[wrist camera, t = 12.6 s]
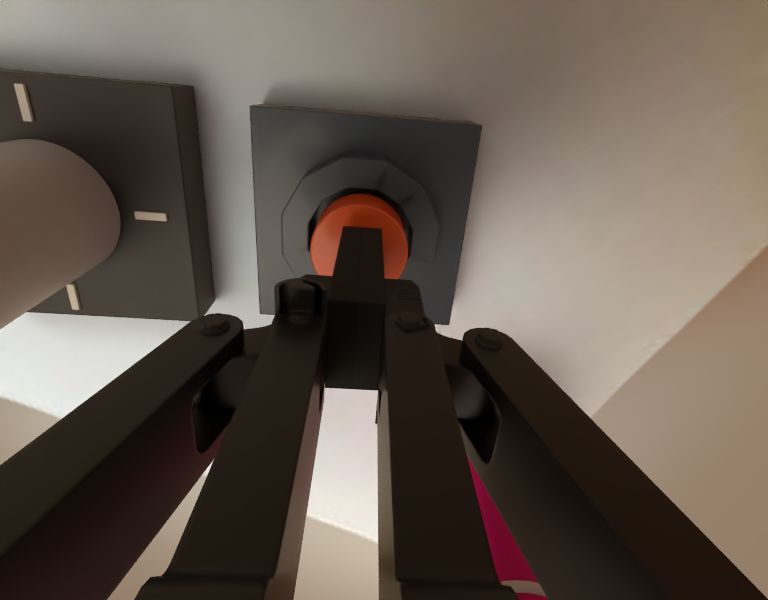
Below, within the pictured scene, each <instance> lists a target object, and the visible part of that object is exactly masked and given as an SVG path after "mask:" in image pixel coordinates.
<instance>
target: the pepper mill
mask: <svg viewBox="0 0 768 600" xmlns="http://www.w3.org/2000/svg"><path fill="white" fill-rule="evenodd" d="M467 458H468V456H467ZM468 462H469V466H470V470H471V474H472V478H473V482H474V486H475V490H476V494H477V498H478V502H479V506H480V510H481V514H482V518H483V522H484V526H485V530H486V534H487V538H488V542H489V546H490V550H491V554H492V558H493V562H494V566H495V570H496V573H497V576H498V579H499V581H500V582H501V584H502V585H506V586H511V587H512V588H513V590H514V591H515V593H516V594H517V596H518V598H519V600H548V599H547V597H546V595H545V593H544V592H543V590H542V588H541V586H540V585H539V583H538V581H537V579H536V577H535V576H534V574H533V572H532V570H531V568H530V567H529V565H528V563H527V561H526V560H525V558H524V556H523V554H522V552H521V551H520V549H519V547H518V545H517V544H516V542H515V540H514V538H513V536H512V535H511V533H510V531H509V529H508V528H507V526H506V524H505V522H504V520H503V519H502V517H501V515H500V513H499V512H498V510H497V508H496V506H495V504H494V503H493V501H492V499H491V497H490V495H489V494H488V492H487V490H486V488H485V487H484V485H483V483H482V481H481V479H480V478H479V476H478V474H477V472H476V471H475V469H474V467H473V465H472V463H471V462H470V460H469V458H468Z"/></svg>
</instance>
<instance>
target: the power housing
mask: <svg viewBox="0 0 768 600" xmlns="http://www.w3.org/2000/svg"><path fill="white" fill-rule="evenodd" d="M250 122H251V143H252V163H253V183H254V203H255V223H256V243H257V264H258V284H259V304H260V314H269V315H275V296H274V286H275V285H276V284H277V283H278V282H281V281H283V280H286V279H292V278H301V277H302V276H304V275H305V274H310V275H318V274H317V273H316V271H315V269H314V267H313V264H312V260H311V256H310V244H311V239H312V235H313V233H314V230H315V228H316V225H317V223H318V220H319V218H320V216H321V214H322V213H323V211H324V210H325V209H326V208H327V207H328V206H329V205H330V204H331V203H332V202H333V201H335V200H337V199H338V198H340V197H343V196H346V195H349V194H356V193H363V194H370V195H373V196H376V197H379V198H381V199H382V200H384V201H386V202H387V203H388V204H390V205H391V206H392V207H393V208H394V209H395V211H396V212H397V213H398V215H399V217H400V218H401V221H402V223H403V226H404V231H405V235H406V240H407V245H408V257H407V262H406V265H405V268H404V270H403V272H402V274H401V275H400V277H399V278H398V279H404V280H412V281H413V282H414V283H415V284H417V285H418V286H419V288H420V293H421V297H422V302H423V306H424V310H425V315H426V317H428V318H429V319H431V320H432V322H433V323H434V324H440V325H449V323H450V317H451V311H452V304H453V298H454V292H455V286H456V280H457V274H458V268H459V262H460V256H461V250H462V244H463V238H464V232H465V226H466V220H467V214H468V208H469V202H470V196H471V190H472V184H473V178H474V172H475V166H476V160H477V154H478V148H479V142H480V136H481V130H482V125H480V124H477V123H474V122H472V121H461V120H449V119H437V118H426V117H414V116H402V115H390V114H379V113H367V112H355V111H344V110H332V109H320V108H308V107H297V106H285V105H273V104H257V105H251V106H250Z"/></svg>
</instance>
